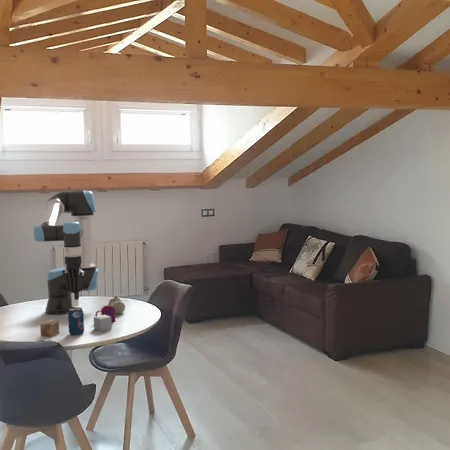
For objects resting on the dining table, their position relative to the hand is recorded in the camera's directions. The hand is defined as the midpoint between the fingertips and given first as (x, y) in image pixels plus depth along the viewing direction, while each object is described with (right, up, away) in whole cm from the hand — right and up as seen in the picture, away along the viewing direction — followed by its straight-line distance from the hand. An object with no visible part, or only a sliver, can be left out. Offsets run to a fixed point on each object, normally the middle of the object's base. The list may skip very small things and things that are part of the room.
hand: (75, 306), depth 263 cm
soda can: (0, -13, +2) cm, 14 cm away
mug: (+9, -11, +22) cm, 26 cm away
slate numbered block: (+11, -12, +9) cm, 19 cm away
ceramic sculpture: (+11, -9, +41) cm, 44 cm away
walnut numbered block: (-12, -14, +1) cm, 18 cm away
